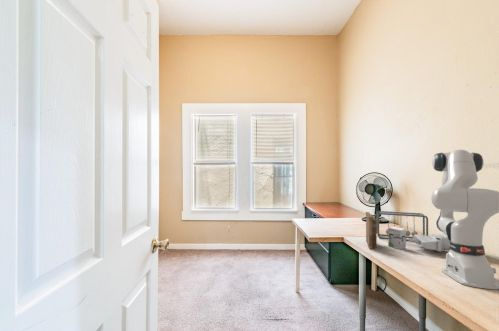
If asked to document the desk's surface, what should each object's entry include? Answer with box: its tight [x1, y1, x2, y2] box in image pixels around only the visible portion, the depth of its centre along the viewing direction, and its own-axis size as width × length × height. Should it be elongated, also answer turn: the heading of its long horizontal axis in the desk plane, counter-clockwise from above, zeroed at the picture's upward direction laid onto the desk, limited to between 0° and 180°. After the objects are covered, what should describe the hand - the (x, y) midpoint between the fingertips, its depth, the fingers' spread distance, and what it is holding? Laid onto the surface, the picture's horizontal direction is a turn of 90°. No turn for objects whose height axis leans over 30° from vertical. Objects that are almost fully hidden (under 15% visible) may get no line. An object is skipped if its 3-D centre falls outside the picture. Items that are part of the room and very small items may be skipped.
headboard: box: [365, 211, 378, 250], centre depth 168 cm, size 20×5×19 cm, turn 161°
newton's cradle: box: [375, 210, 429, 242], centre depth 184 cm, size 30×10×18 cm, turn 68°
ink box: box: [387, 226, 407, 250], centre depth 163 cm, size 9×5×12 cm, turn 26°
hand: (409, 240), depth 161 cm, fingers closed
